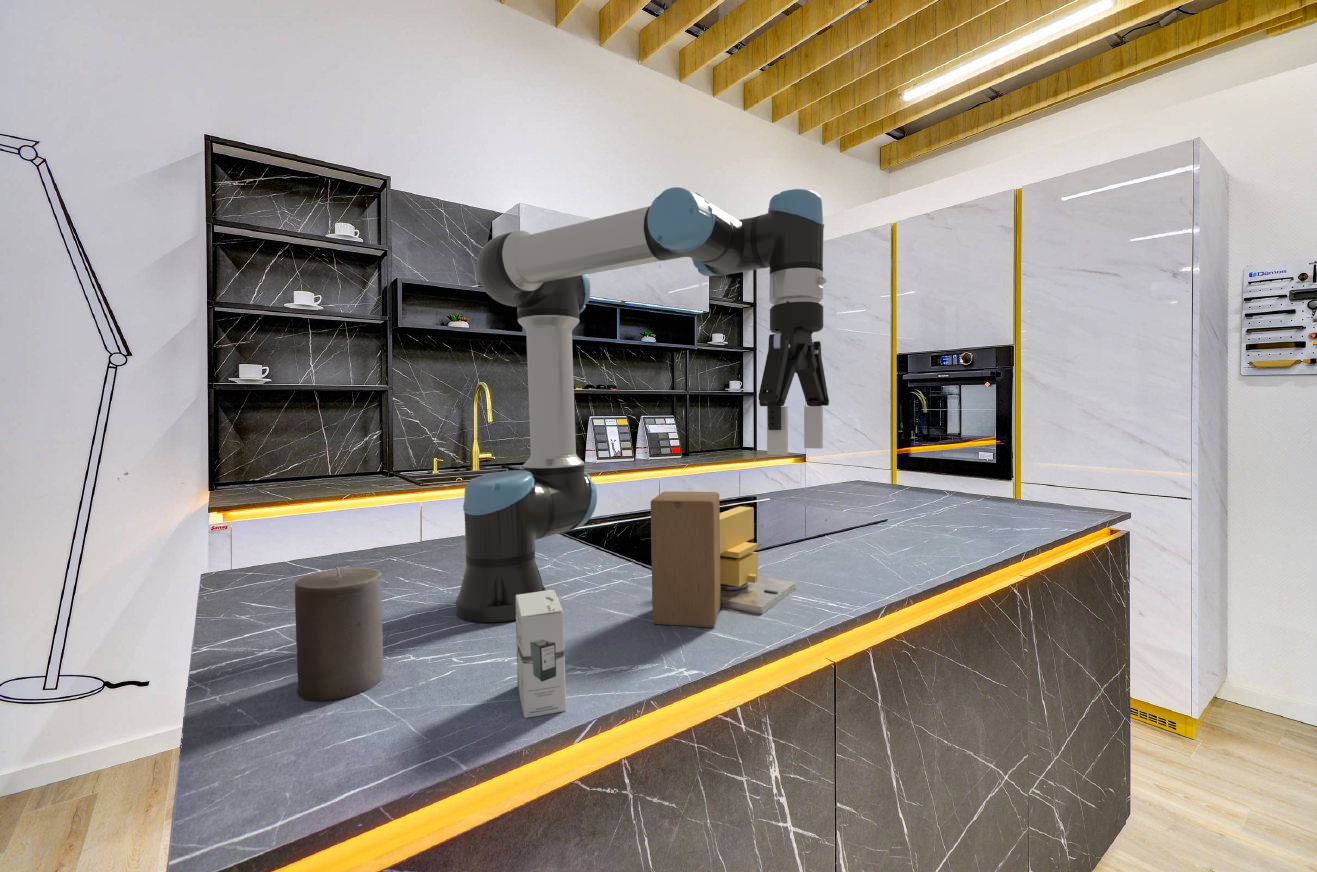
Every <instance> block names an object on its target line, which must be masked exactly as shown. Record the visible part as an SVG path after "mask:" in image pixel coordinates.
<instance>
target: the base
mask: <svg viewBox="0 0 1317 872" xmlns="http://www.w3.org/2000/svg"><path fill="white" fill-rule="evenodd" d="M720 558H727V559H734V560H736V559H738V558H733V557H726V556H720ZM796 589H797V582H795V581H791V580H790V581H789V580H785V579H784V580H783V579H778V578H772V577H765V576H759V575H758V582H756V583H751V582H746V583H745V584H743V585H741V586H740V587H737V586H732V585H726V584H720V591H721V606H720V607H723V608H728V609H732V610H738V611H743V612H747V613H749V612H750V613H752V614H759V615H763V614H765V613H766V612H767V611H769V610H770V609H771V608H772V607H774V606H775V605H777V604H778V603H779V602H780V601H782V600H783V599H784V598H786V597H787V596H788V595H790V594H791V593H792V592H793V591H795V590H796Z"/></svg>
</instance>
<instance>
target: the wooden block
mask: <svg viewBox="0 0 1317 872" xmlns="http://www.w3.org/2000/svg"><path fill="white" fill-rule="evenodd" d="M720 510H721V509H720V493H719V492H717V491H668V490H667V491H666V490H665V491H663V492H661V493H660V494H658V495H657V496H656V497H654V498H653V499H652V500H651V501H650V537H651V538H650V541H651V542H650V543H651V547H650V548H651V549H650V552H651V599H652V602H651V604H652V606H651V607H652V608H651V609H652V623H653V625H665V626H666V625H667V626H683V627H697V628H698V627H700V628H715V627H716V623H717V619H718V615H719V613H720V609H721V607H722V606H721V591H720V513H721V512H720Z"/></svg>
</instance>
